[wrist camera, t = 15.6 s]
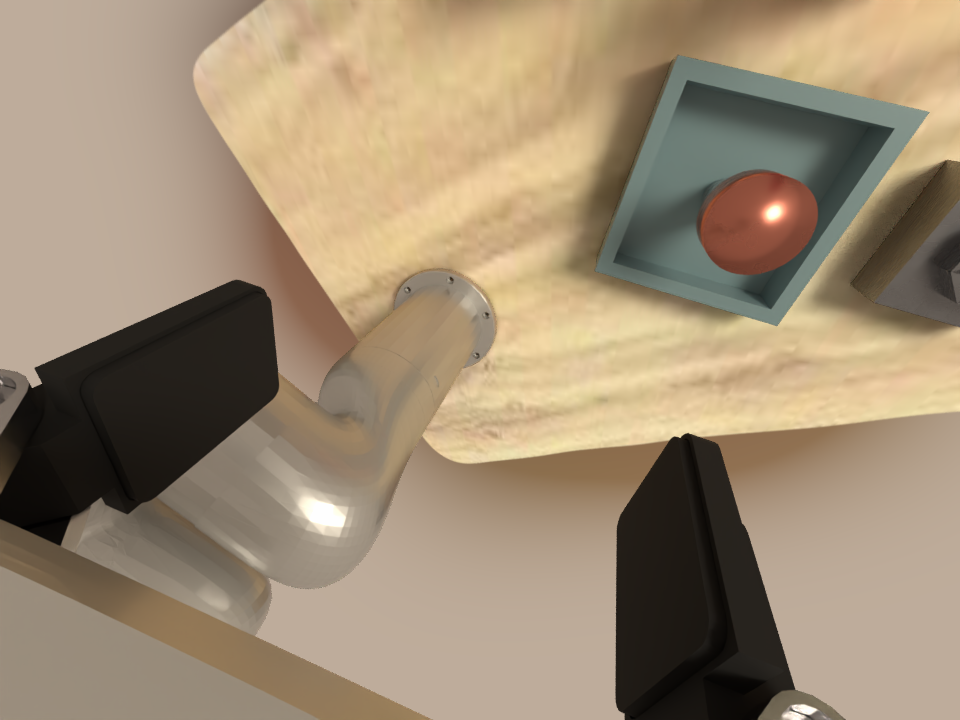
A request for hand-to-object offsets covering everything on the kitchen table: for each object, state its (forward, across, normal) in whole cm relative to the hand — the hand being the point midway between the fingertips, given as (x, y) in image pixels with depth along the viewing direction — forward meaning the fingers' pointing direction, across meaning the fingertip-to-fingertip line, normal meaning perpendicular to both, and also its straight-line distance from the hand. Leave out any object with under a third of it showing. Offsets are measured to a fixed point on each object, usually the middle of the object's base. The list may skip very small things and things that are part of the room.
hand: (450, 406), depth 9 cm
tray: (+34, -12, -2) cm, 36 cm away
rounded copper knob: (+34, -12, -2) cm, 36 cm away
